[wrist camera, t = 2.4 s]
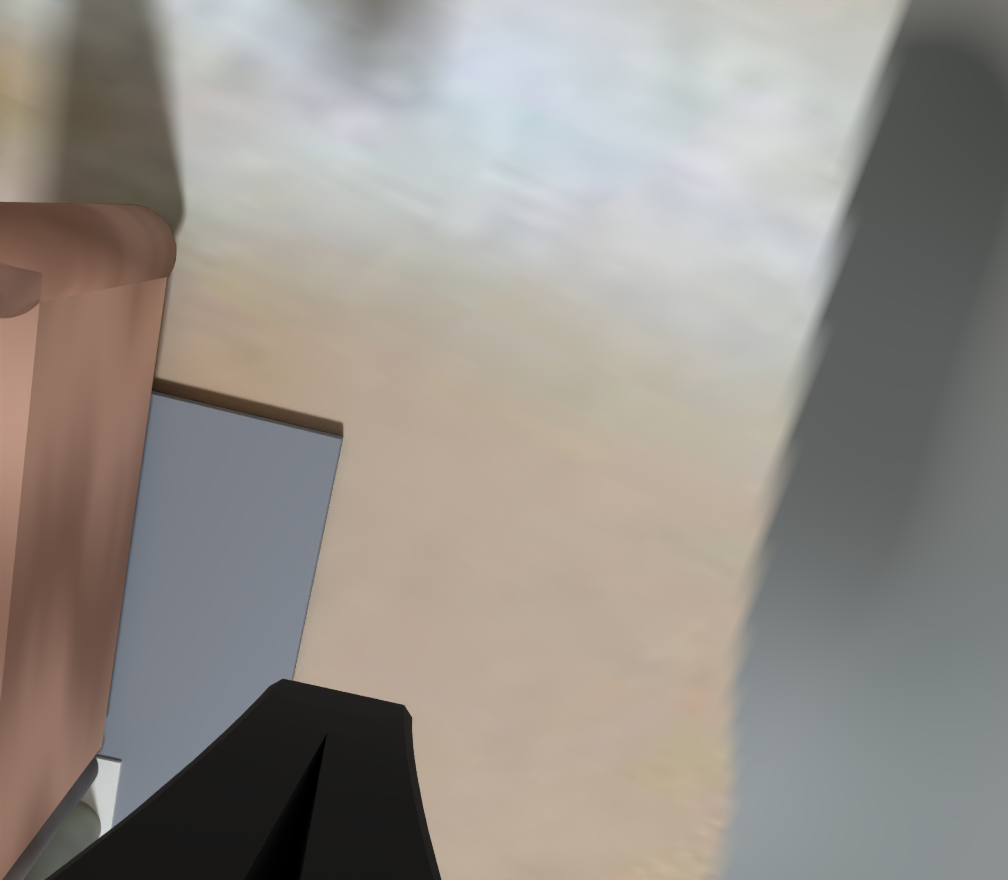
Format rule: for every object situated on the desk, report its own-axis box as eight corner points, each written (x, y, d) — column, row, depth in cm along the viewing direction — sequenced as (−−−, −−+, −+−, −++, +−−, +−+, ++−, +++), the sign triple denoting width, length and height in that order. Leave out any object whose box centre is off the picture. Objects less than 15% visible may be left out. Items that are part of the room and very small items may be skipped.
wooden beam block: (99, 796, 17) (-36, 993, 13) (31, 782, 17) (-129, 975, 12) (181, 216, 14) (38, 217, 9) (98, 195, 14) (-84, 187, 9)
